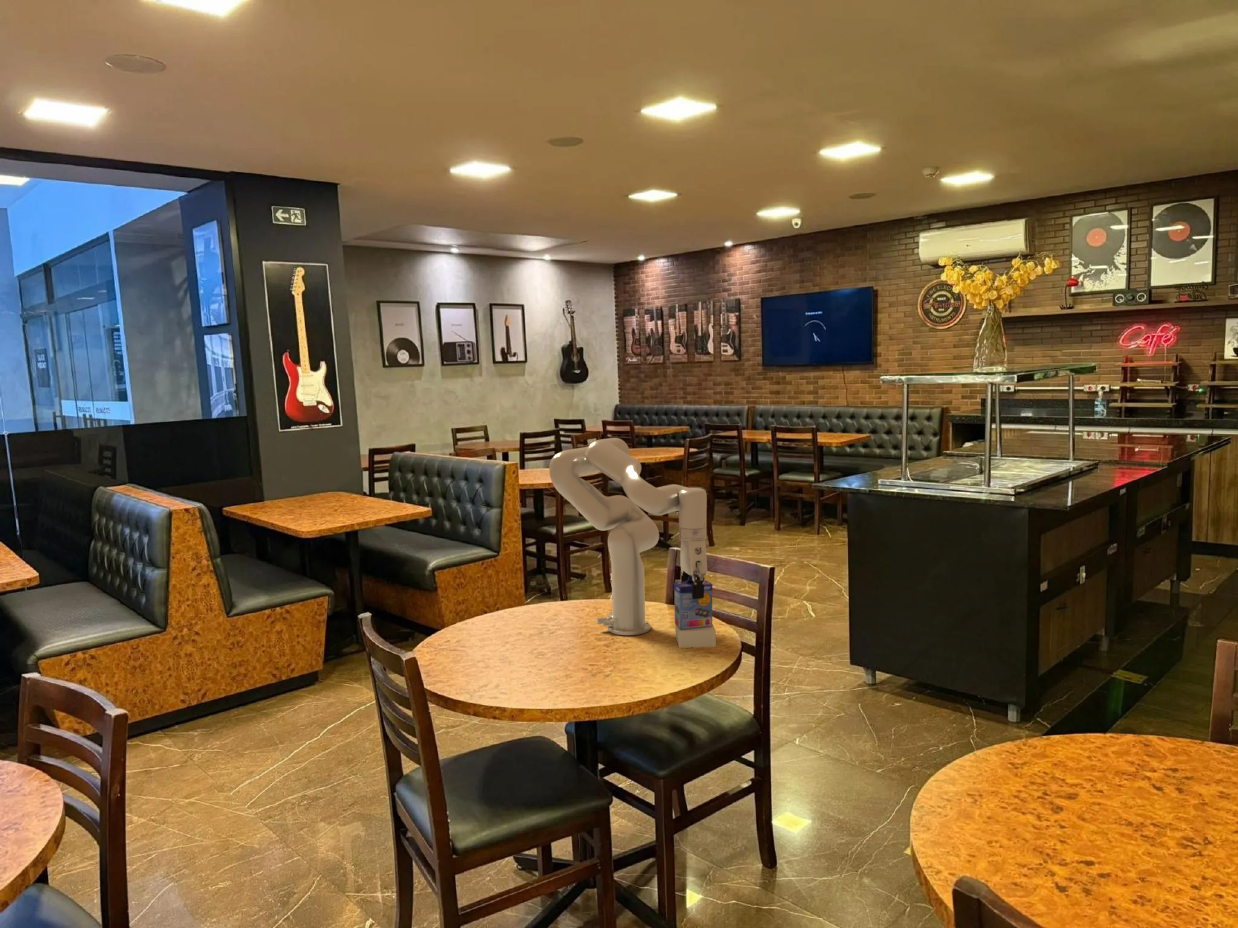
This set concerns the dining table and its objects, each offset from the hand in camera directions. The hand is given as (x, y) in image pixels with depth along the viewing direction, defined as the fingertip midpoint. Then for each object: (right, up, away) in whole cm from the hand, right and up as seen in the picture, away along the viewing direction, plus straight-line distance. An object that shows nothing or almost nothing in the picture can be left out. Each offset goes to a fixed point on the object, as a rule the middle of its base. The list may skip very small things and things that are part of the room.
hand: (692, 593), depth 235 cm
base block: (+1, -14, +2) cm, 14 cm away
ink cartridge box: (0, -9, +1) cm, 9 cm away
